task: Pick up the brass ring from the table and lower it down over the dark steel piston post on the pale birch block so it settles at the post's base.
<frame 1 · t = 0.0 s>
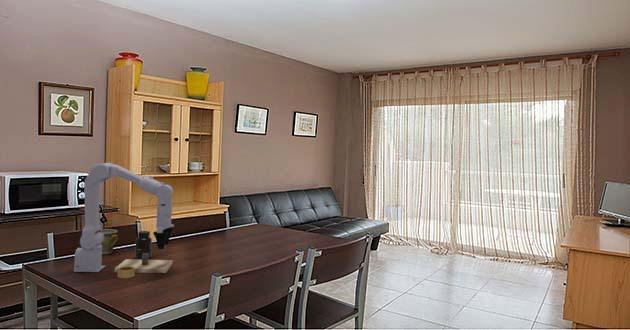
hand: (163, 246, 182), 10 cm above the table, tool pointing down, fingers open, 7 cm apart
supplement bottle: (143, 258, 200), on the table
ceramic cup: (107, 253, 205), on the table
piston block: (144, 267, 185), on the table
brass ring: (126, 276, 173), on the table
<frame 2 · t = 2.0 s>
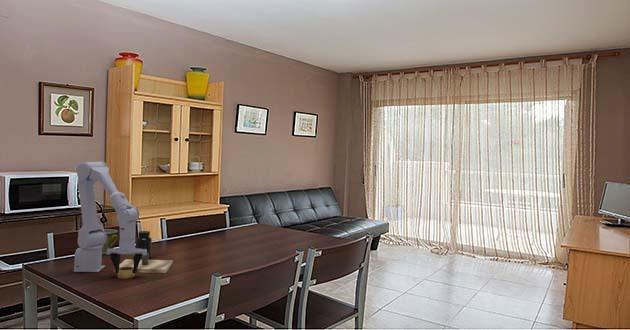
hand: (126, 272, 173), 1 cm above the table, tool pointing down, fingers closed on brass ring, 6 cm apart
brass ring: (126, 276, 173), on the table, touching gripper
everything else where it was.
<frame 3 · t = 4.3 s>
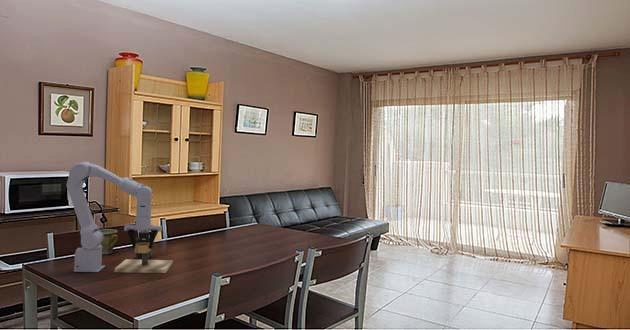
hand: (142, 247, 183), 9 cm above the table, tool pointing down, fingers closed on brass ring, 6 cm apart
brass ring: (142, 251, 183), point 8 cm above the table, touching gripper
everything else where it was.
when the fingers open (4 cm above the table, at t = 6.6 s): brass ring drops 1 cm, resting on piston block.
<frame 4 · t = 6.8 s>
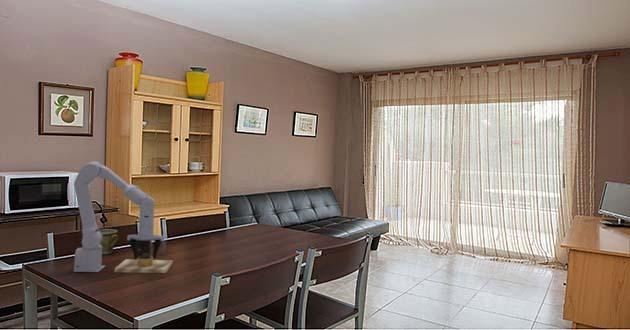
hand: (145, 257, 185), 4 cm above the table, tool pointing down, fingers open, 7 cm apart
brass ring: (145, 264, 185), point 1 cm above the table, touching piston block
everything else where it was.
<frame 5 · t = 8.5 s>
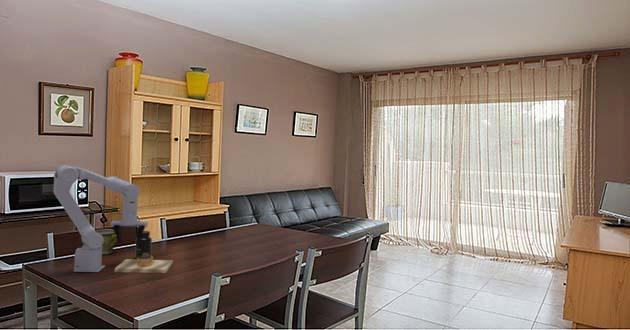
hand: (128, 243, 188), 9 cm above the table, tool pointing down, fingers open, 7 cm apart
nothing on the table moved.
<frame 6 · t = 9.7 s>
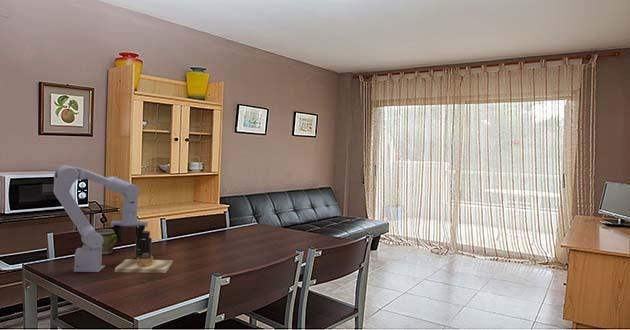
hand: (128, 243, 188), 9 cm above the table, tool pointing down, fingers open, 7 cm apart
nothing on the table moved.
at the end: brass ring 0.0 cm from the piston block (horizontally); brass ring point 1.5 cm above the table; the gripper is holding nothing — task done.
